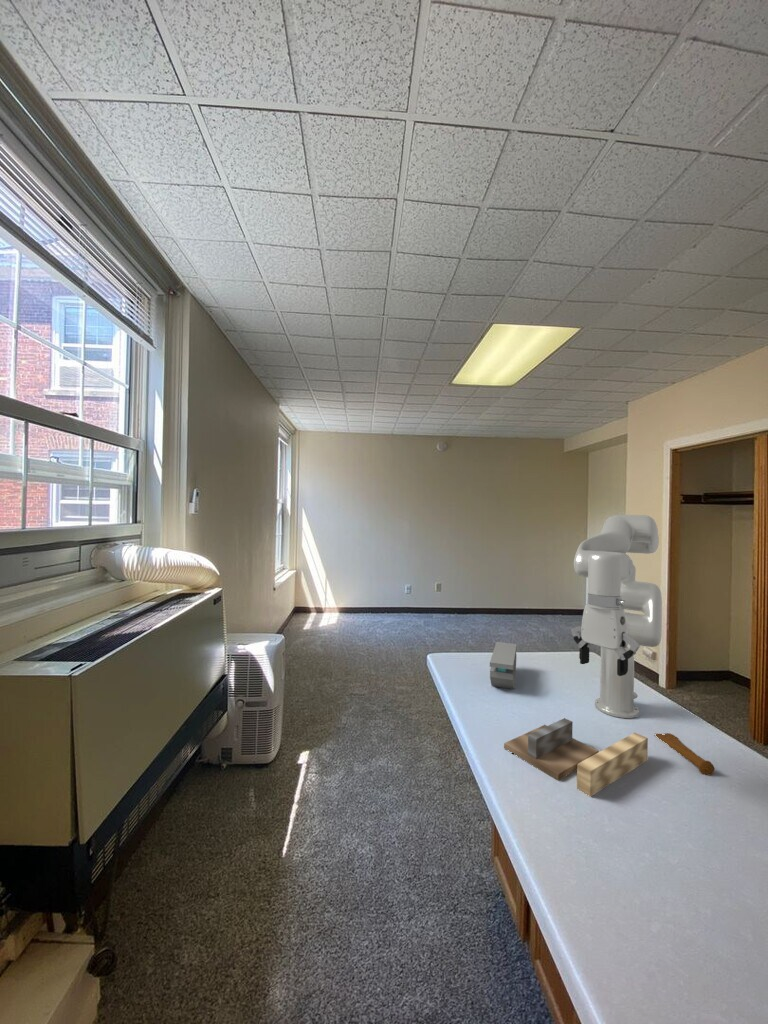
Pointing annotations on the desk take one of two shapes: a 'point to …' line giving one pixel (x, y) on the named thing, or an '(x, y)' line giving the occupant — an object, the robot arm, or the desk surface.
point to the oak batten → (611, 763)
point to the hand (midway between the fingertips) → (602, 668)
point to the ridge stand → (551, 749)
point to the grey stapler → (503, 665)
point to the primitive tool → (687, 753)
